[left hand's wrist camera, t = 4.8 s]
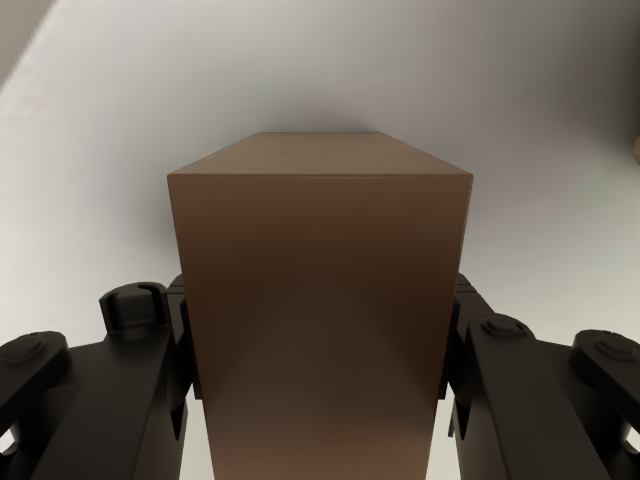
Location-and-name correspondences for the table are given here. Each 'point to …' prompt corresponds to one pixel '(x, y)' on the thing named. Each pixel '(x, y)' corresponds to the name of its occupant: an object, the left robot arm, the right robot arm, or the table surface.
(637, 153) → the sculpture
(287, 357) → the bar
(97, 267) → the table surface
